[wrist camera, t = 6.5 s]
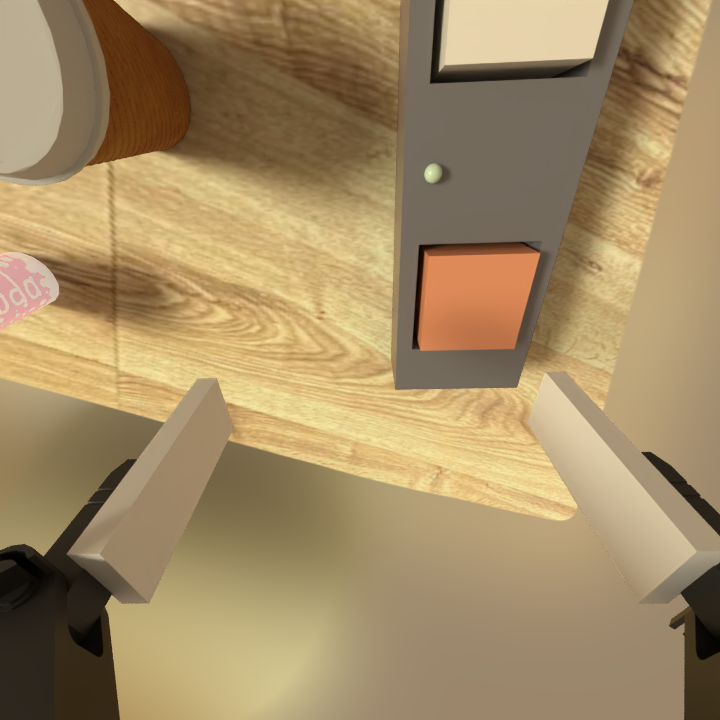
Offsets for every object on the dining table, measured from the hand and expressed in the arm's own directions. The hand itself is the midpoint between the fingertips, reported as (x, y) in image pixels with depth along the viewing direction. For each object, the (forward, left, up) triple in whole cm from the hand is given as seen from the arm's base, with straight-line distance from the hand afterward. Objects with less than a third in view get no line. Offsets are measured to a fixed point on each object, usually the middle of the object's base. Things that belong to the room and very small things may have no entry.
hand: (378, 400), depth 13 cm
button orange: (0, +7, -15) cm, 17 cm away
